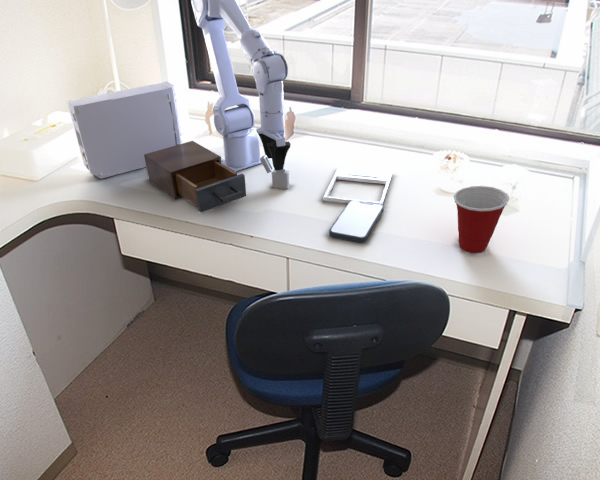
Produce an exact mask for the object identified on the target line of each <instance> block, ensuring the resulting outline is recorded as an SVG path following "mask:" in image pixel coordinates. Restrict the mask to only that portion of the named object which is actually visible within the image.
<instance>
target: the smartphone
mask: <svg viewBox="0 0 600 480" xmlns="http://www.w3.org/2000/svg"><path fill="white" fill-rule="evenodd" d="M384 209H385V206H384V205H379V204H373V203H367V202H361V201H355V200H352V201H350V202H349V203H346V205H345V207H344V208H343V210H342V211H341V212H340V214H339V215H338V217H337V218H336V220H335V221H334V222H333V224H332V225H331V227H330V228H329V230H328V235H329V237H331V238H333V239H339V240H343V241H349V242H353V243H359V244H362V243H366V242H367V240H368V239H369V237H370V236H371V233H372V232H373V230H374V228H375V227H376V225H377V223H378V222H379V221H380V219H381V216H382V215H383V213H384V211H385V210H384Z"/></svg>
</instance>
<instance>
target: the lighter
mask: <svg viewBox="0 0 600 480" xmlns="http://www.w3.org/2000/svg"><path fill="white" fill-rule="evenodd" d="M260 160H261V162H262V163H261V164H262V166H263V168H264V170H265V172H266V174H270V173H271V182H272V188H275V189H281V190H283V189H284V190H288V189H289V188H290V171H289V170H286V168H285V166H284V167H283V170H276V171H275V169H274V167H273V164H272V163H271V161H270V159H268V157H267V155H265V154H264V155H262V156H260Z"/></svg>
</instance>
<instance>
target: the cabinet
mask: <svg viewBox="0 0 600 480" xmlns="http://www.w3.org/2000/svg"><path fill="white" fill-rule="evenodd" d="M144 157H145V162H146V167H145V168H146V173H147V177H148V181H149V182H150V183H151V184H153V185H154V186H155V187H157V188H158V189H160V190H161V191H162V192H164V193H165V194H167V195H168V196H169V197H171V198H172V199H174V200H179V199H182V198H183V197H182V196H181V195H179V194H178V193H177V192H176V186H175V180H174V174H175V173H179V172H182V171H185V170H188V169H191V168H194V167H198V166H201V165H204V164H207V163H210V162H214V161H217V162H219V163H220V164H222V163H221V161H222V156H221V155H219V154H218V153H216V152H214V151H211V150H210V149H208V148H206V147H205V146H203V145H201V144H199V143H197V142H196V141H194V140H190V141H187V142H182V144H179V145H176V146H172V147H169V148H165V149H162V150H158V151H155V152H151V153H148V154H144Z"/></svg>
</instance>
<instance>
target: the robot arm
mask: <svg viewBox="0 0 600 480" xmlns="http://www.w3.org/2000/svg"><path fill="white" fill-rule="evenodd" d="M190 3H191V7H192V11H193V14H194V15H193V16H194V19H195V22H196V25H197V27H199V28H200V29H201V30H202V34H203V38H204V42H205V45H206V49H207V53H208V58H209V61H210V64H211V69H212V72H213V76H214V81H215V84H216V88H217V92H218V95H219V97H218V99H217V100H216V102H215V104H214V105H213V107H212V112H213V124H214V127H215V129H216V132H217V133H218V134H219V135H220V136H222V143H223V152H224V154H223V155H224V159H223V160H222V159H221V163H222V165H224V166H226V167H227V168H229V169H231V170H233V171H234V172H236V173H237V172H239V171H242V170H245V169H247V168H250V167H253V166H258V165H259V164H262V162H261V160H260V158H261V148H260V141H261V144H262V148H263V151H264V156H265V155H267V157H268V159H269V160H270V159H271V162H272V167H273V169H275V171H276V170H283V167H284V168H285V162H286V157H287V154H288V151H289V150H290V148H291V142H290V141H286V137H285V136H286V126H285V102H284V101H285V97H284V80H286V79H287V77H288V74H289V67H288V62H287V60H286V58H285V57H284V55H283V54H282V53H280V52H277V51H276V50H272V48H271V46H270V45H269V44H268V42H267V41H266V39H265V38H264V36H263V35H262V33H261V32H260V31H259V30H257V29H252V27H251V25H250V23H249V22H248V20H247V18H246V16H245V14H244V12H243V11H242V9H241V7H240V6H239V5H240V3H239V0H190ZM226 24H227V25H228V26H229V28H230V29H231V30H232V31H233V33H234V34H235V35H236V36H237V38H238V39H239V42H238V46H239V48H240V49H239V50H241V52H242V53H243V55H244V56H245V58H246V59H247V60H248V62H249V63H250V65H251V67H252V69H251V71H252V76H253V79H254V81H255V88H256V91H257V92H258V100H259V101H258V102H259V117H260V127H259V128H258V127H257V128H256V129H255V130H254V127H255V124H256V115H255V112H254V110H253V109H252V106H251V103H250V100H249V99H248V98H247V97H246V96H243V95H242V94H241V93H240V92H239V89H238V85H237V80H236V76H235V73H234V68H233V63H232V59H231V57H230V53H229V47H228V43H227V40H226V36H225V32H224V28H225V25H226ZM235 106H236V107H235ZM231 107H232V108H231ZM227 108H228V109H227ZM259 138H260V139H259Z"/></svg>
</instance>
